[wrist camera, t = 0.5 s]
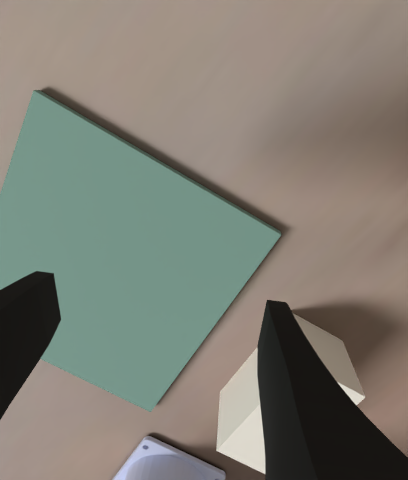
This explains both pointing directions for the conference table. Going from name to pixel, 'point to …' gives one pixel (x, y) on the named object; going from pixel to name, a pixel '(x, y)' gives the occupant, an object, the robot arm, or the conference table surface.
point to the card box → (248, 401)
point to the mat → (121, 250)
